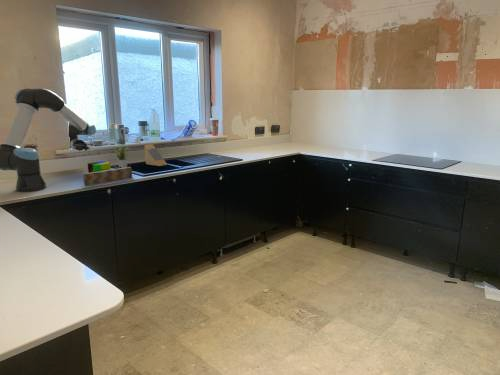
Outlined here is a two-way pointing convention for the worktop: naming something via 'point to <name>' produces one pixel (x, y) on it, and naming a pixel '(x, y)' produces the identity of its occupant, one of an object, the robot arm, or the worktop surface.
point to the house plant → (122, 158)
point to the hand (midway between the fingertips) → (91, 148)
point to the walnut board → (107, 176)
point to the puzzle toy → (98, 166)
